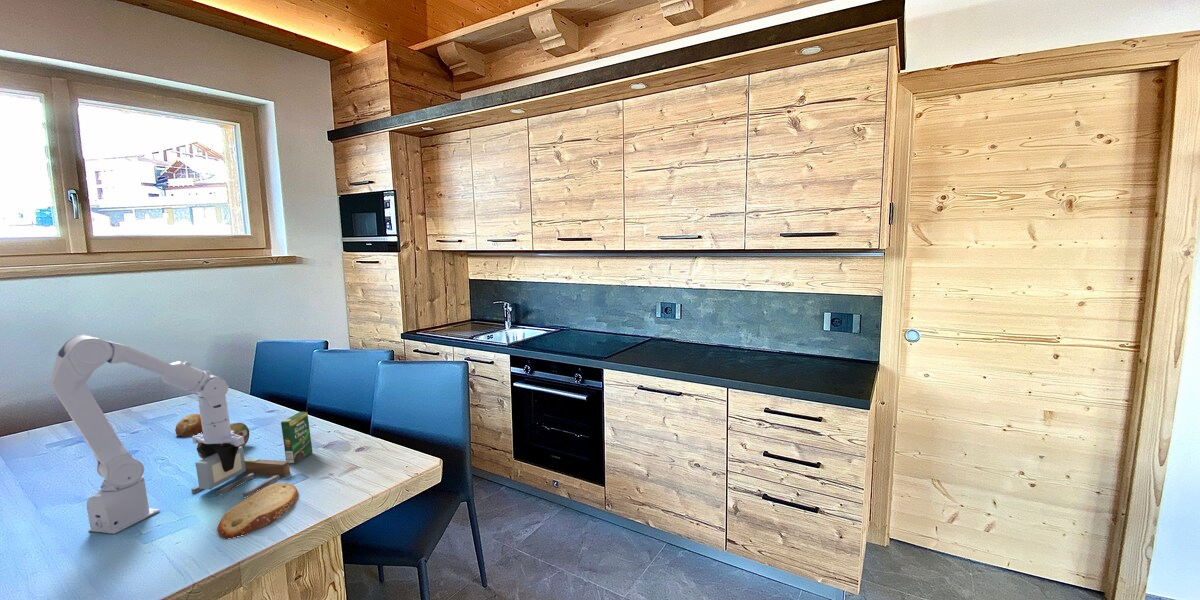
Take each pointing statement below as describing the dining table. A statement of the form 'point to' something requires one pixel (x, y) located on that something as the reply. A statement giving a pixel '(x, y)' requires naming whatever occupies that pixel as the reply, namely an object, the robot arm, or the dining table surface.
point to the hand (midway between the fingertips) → (222, 469)
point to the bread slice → (258, 510)
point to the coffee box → (296, 437)
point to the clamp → (260, 468)
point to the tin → (238, 430)
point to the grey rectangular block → (218, 470)
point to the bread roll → (189, 425)
